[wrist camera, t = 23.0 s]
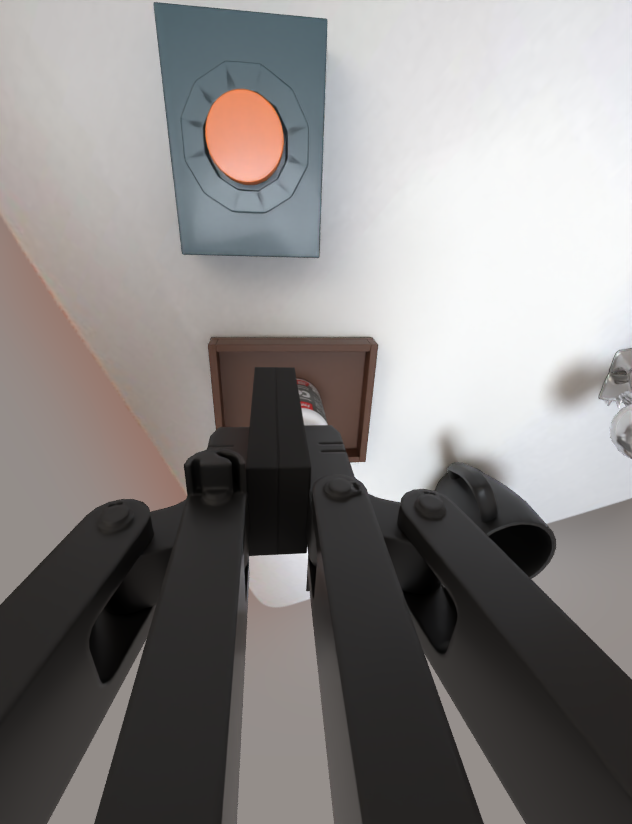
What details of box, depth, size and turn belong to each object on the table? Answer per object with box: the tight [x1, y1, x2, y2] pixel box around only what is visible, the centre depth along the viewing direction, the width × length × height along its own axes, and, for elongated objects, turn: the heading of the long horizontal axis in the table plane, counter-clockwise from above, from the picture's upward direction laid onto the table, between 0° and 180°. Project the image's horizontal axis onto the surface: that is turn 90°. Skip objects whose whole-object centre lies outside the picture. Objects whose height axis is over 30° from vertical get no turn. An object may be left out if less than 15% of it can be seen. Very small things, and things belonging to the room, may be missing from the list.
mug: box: [436, 463, 556, 579], centre depth 36 cm, size 8×12×10 cm
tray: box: [208, 337, 378, 462], centre depth 33 cm, size 13×11×2 cm
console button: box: [205, 89, 284, 185], centre depth 21 cm, size 4×4×2 cm
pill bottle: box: [297, 379, 328, 425], centre depth 30 cm, size 5×5×8 cm
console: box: [154, 2, 327, 258], centre depth 24 cm, size 12×9×5 cm
